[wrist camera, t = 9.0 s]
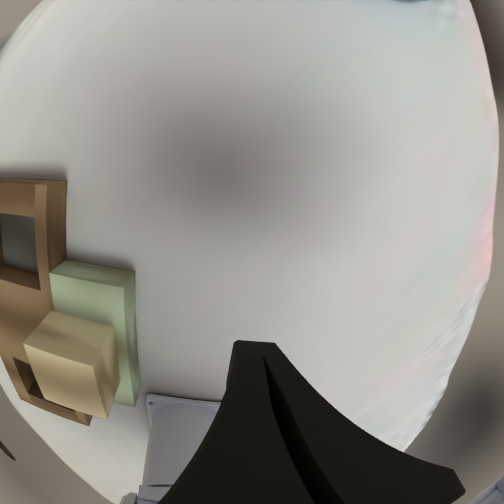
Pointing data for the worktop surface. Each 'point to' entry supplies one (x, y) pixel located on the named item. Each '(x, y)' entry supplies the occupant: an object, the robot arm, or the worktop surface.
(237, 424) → the robot arm
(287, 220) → the worktop surface
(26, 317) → the tray
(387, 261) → the worktop surface
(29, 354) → the birch block
